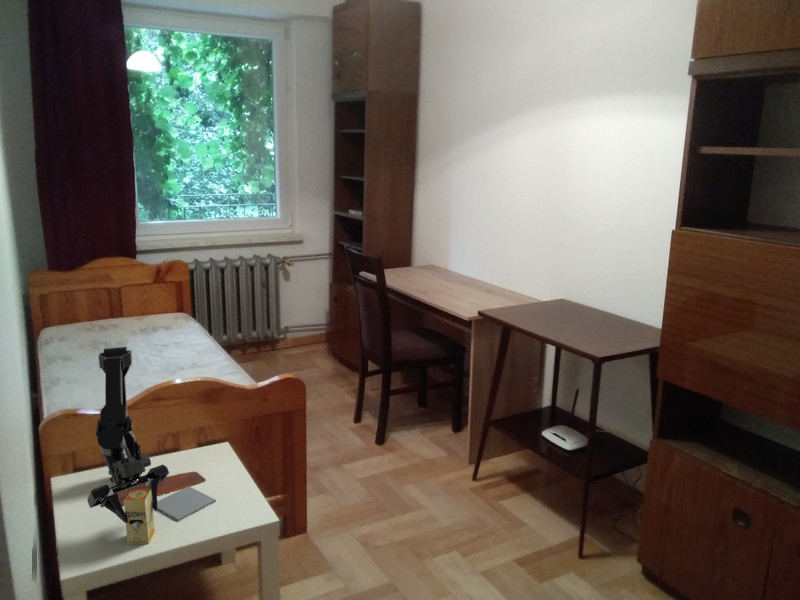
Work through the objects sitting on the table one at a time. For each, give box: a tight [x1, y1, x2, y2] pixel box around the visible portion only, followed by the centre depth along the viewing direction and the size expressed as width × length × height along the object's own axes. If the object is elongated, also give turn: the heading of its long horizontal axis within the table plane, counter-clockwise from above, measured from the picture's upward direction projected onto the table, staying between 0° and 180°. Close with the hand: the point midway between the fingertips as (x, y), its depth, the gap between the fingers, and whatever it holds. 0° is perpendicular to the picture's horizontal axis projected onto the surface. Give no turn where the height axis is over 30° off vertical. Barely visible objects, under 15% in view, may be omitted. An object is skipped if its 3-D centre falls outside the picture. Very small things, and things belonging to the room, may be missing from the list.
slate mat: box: [157, 486, 217, 522], centre depth 172 cm, size 12×12×1 cm
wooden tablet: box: [118, 471, 207, 507], centre depth 180 cm, size 27×10×2 cm, turn 124°
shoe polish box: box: [123, 489, 156, 545], centre depth 155 cm, size 5×5×12 cm
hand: (141, 516), depth 154 cm, fingers closed on shoe polish box, 7 cm apart
